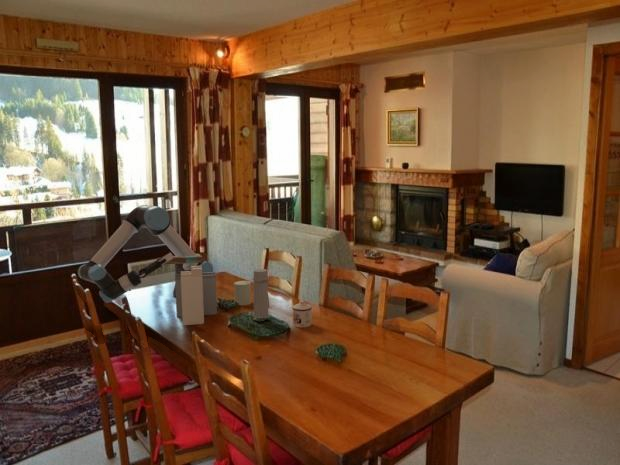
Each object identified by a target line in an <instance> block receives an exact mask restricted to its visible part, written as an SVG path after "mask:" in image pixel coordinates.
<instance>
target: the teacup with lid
mask: <svg viewBox="0 0 620 465" xmlns="http://www.w3.org/2000/svg"><path fill="white" fill-rule="evenodd" d="M312 321H313V315H312V305H310V304H309V303H307V302H305V301H303V300H300V301H299V302H298V303H297V304H294V305H293V306H292V325H293V326H294V327H295V328H300V329H302V328H309V327H311V326H312Z"/></svg>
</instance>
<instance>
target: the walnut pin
mask: <svg viewBox="0 0 620 465" xmlns="http://www.w3.org/2000/svg"><path fill="white" fill-rule="evenodd" d="M202 258H203V255H200V256H184V257H176V256H173V259H171V260H170V261H168V262H166V263H165V264H163V265H165V266H166V265H175V264H184V263H202ZM161 259H162V257H156V260H157V262H158V261H159V260H161ZM163 265H162V266H163Z"/></svg>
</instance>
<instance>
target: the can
mask: <svg viewBox="0 0 620 465" xmlns="http://www.w3.org/2000/svg"><path fill="white" fill-rule="evenodd" d="M233 284H234V285H233V286H234V287H233V288H234V290H233V291H234V302H235V301H236V302H237V303H239V305H238V306H239V307H240V306H242V307H243V306H248V305H249V306H250V305H251V304H252V290H251V289H252V283H251V281H249V280H239V281H238V280H237V281H235V282H234V283H233Z"/></svg>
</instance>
